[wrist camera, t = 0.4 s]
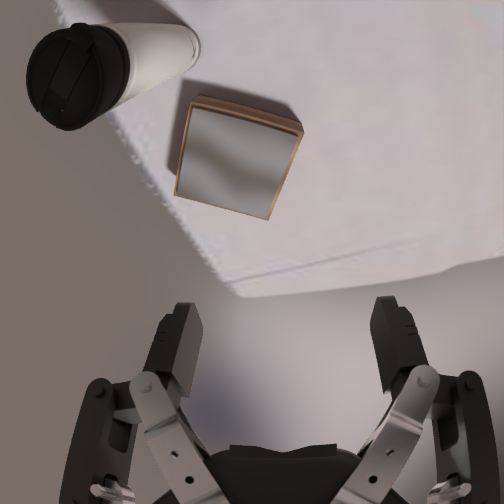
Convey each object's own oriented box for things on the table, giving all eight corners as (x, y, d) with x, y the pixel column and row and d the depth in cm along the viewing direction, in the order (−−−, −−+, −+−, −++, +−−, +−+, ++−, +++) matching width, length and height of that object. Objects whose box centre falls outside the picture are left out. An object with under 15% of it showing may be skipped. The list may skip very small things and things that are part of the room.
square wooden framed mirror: (198, 94, 28) (189, 102, 25) (301, 123, 30) (304, 134, 27) (181, 181, 36) (172, 197, 33) (269, 205, 38) (268, 223, 35)
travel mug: (215, 43, 24) (128, 58, 9) (176, 85, 27) (69, 158, 13) (174, 12, 21) (48, 5, 6) (137, 55, 24) (5, 105, 10)
